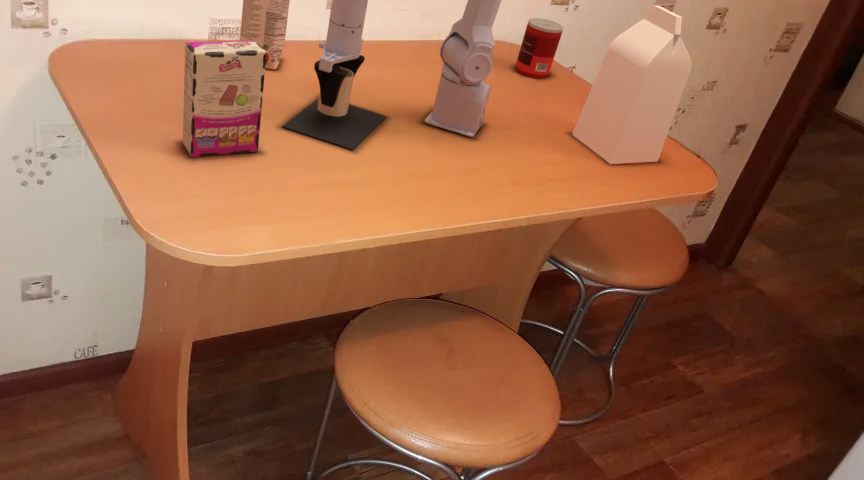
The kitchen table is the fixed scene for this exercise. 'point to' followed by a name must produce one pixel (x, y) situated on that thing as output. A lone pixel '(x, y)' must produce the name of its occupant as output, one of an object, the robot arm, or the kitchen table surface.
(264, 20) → the juice carton
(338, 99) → the cream cup
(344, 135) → the placemat
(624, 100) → the milk
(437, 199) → the kitchen table surface
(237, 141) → the candy bar box
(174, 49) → the kitchen table surface
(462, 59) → the robot arm
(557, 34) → the canned food
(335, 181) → the kitchen table surface
